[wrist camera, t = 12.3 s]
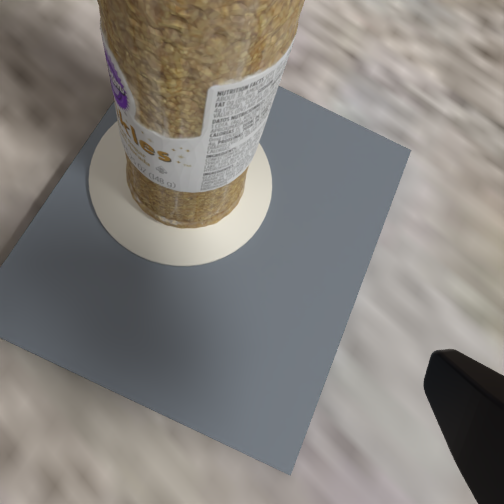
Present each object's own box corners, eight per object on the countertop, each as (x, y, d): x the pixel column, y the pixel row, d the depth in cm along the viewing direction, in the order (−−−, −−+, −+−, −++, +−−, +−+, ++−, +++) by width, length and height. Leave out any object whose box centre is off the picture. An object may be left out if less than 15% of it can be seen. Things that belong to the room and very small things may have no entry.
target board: (286, 472, 16) (291, 476, 15) (-29, 323, 16) (-39, 319, 15) (404, 156, 20) (413, 147, 20) (163, 39, 20) (162, 25, 20)
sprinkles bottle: (103, 162, 17) (-92, -478, 5) (201, 108, 19) (258, -500, 6) (173, 257, 17) (173, -186, 4) (269, 193, 18) (497, -285, 5)
